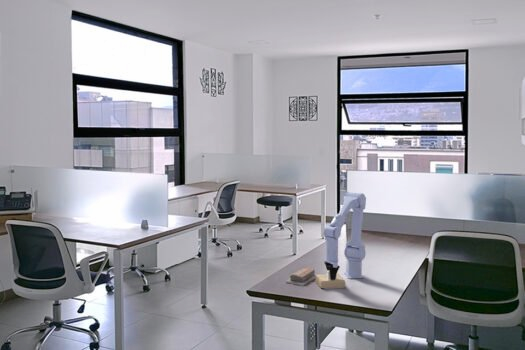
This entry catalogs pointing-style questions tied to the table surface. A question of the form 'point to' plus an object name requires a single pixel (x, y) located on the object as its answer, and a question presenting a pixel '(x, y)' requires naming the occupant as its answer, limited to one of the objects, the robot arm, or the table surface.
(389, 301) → the table surface
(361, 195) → the robot arm
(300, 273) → the packaged product
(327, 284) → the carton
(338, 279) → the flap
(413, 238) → the table surface
